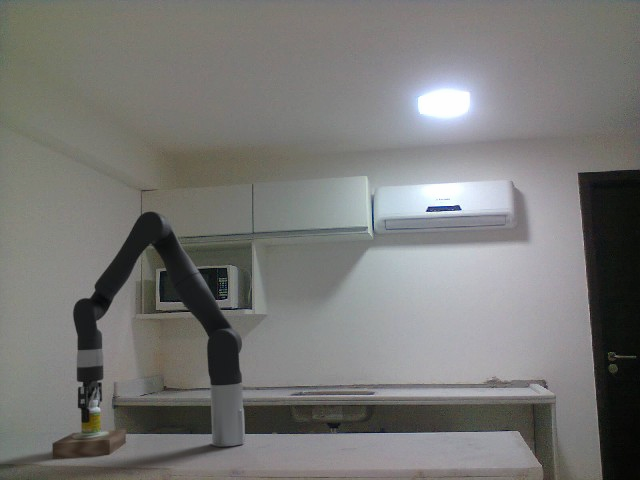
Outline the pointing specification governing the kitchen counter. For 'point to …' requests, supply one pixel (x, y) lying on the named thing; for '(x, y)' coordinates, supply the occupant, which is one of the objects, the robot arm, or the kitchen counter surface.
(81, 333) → the robot arm
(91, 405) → the supplement bottle
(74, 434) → the plinth
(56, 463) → the kitchen counter surface
